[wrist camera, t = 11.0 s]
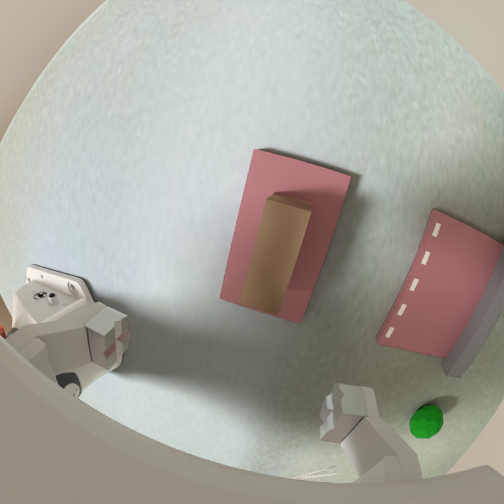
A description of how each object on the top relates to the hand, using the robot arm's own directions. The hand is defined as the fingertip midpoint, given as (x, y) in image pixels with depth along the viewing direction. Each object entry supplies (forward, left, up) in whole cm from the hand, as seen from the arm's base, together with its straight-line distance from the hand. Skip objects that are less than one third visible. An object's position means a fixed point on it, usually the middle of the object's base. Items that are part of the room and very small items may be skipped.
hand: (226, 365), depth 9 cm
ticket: (+20, 0, -16) cm, 25 cm away
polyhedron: (+27, -17, -16) cm, 35 cm away
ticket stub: (0, 0, -16) cm, 16 cm away
